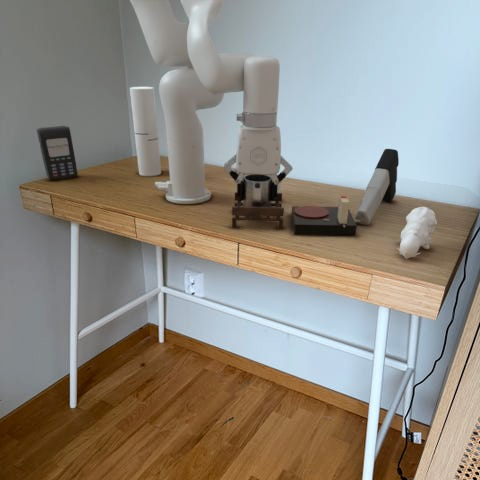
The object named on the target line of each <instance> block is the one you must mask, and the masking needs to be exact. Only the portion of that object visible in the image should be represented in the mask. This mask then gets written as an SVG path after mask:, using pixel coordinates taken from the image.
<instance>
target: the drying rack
mask: <svg viewBox="0 0 480 480" xmlns="http://www.w3.org/2000/svg"><path fill="white" fill-rule="evenodd" d="M234 201H235V202H234V206H231V216H232V217H231V227H232V229H237V223H238V222H239V221H240V222H278V229H279V230H282V229H284V216H285V215H284V214H285V207H284V206H283V204H282V203H283V202H282V201H283V192H280V193H277V197H274V201H275V203H271V207H243V200H242V201H240V196H237V191H234ZM279 201H280V202H279ZM282 206H283V207H282ZM237 221H238V222H237Z"/></svg>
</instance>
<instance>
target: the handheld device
mask: <svg viewBox="0 0 480 480" xmlns="http://www.w3.org/2000/svg"><path fill="white" fill-rule="evenodd" d="M399 164H400V163H399V152H398V150H397V149H393V148H385V149H383V152H382V153H381V156H380V158H379V160H378V162H377V164H376V166H375V168H374V171H373V174H372V176H371V178H370V180H369V182H368V184H367V186H366V188H365V191H364V195H363V197H362V200H361V202H360V205H359V207H358V211H357V213H356V216H355V220H360V221H356V224H360V225H364V226H369V225H370V224H371V222H372V220H373V218H374V217H375V215H376V212H377V210H378V208H379V206H380V204H381V203H388V204H391V203H392V202H393V200H394V197H395V195H396V193H397V181H398V167H399Z"/></svg>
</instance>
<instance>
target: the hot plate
mask: <svg viewBox="0 0 480 480" xmlns="http://www.w3.org/2000/svg"><path fill="white" fill-rule="evenodd" d="M299 206H300V207H297V208H295V210H294V213H295V214H297V215H298V216H301V217H306V218H322V217H326V216H328V215H329V211H328V210H327V209H326V208H323V207H324V206H319V205H299Z"/></svg>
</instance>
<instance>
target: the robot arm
mask: <svg viewBox="0 0 480 480" xmlns="http://www.w3.org/2000/svg"><path fill="white" fill-rule="evenodd" d="M179 1H180V4H181V6H182V8H183V10H184V13H185V14H186V16H187V18H188V22H181V21H179V20H178V19H177V18H176V16H175V14H174V11H173V9H172V5H171V2H170V0H129V2H130V5H131V6H132V8H133V10H134V13H135V15H136V18H137V20H138V23H139V25H140V28H141V31H142V34H143V37H144V39H145V42H146V45H147V47H148V51H149V53H150V55H151V57H152V60H153V62H154V63H155V64H156V65H157V66H159V67H162V68H176V69H171V70H169V71H167V72H166V73H164V75H163V76H161V79H160V81H159V85H158V93H159V94H158V95H159V99H160V101H161V107H162V110H163V116H164V123H165V133H166V144H167V145H166V146H167V157H168V158H167V159H168V172H169V180H165V181H166V182H163V181H155V182H154V189H155V190H157V191H161V192H162V191H164V192H165V191H166V193H165V200H167V201H168V202H170V203H174V204H179V205H195V204H201V203H204V202H207V201H209V200H210V199H211V198H212V192H211V191H210V190H209V189H207V188H206V175H205V174H206V173H205V149H204V148H205V147H204V145H205V144H204V143H205V142H204V129H203V125H202V122H201V120H200V118H199V116H198V114H197V112H196V111H199V110H207V109H212V108H213V109H214V108H216V107H217V106H219V105H220V104H221V103H222V101H223V99H224V96H225V94H229V93H240V92H243V95H242V96H243V98H242V99H243V100H242V103H243V104H242V112H241V113H237V114H236V121H237V122H241V123H242V125H240V126H239V128H238V134H237V142H236V153H235V154H234V155H233V156H232V157H231V158H230V159H228V160H227V161H226V162H225V163H224V164H223V168H224V170H225V171H226V172H227V173H228V174H229V176H230V177H231V178H232V179H233V180H234V182H236V192H237V196H240V201H241V202H243V201H242V200H243V177H244V176H246V175H249V174H255V175H271V177H272V180H273V181H272V190H271V201H272V202H274V197H277V188H278V184H279V183H280V182H281V183H282V181H283V180H284V179H285V178H286V177H287V176H288V175H289V174H290V173H291V172H292V171H293V165H292V164H290V162H289V161H288V160H287V159H286V158H285V157H284V156H283V155H282V139H281V138H282V137H281V129H280V127H279V126H277V125H278V105H279V89H280V71H281V70H280V69H281V64H280V61H279V59H278V58H276V57H275V56H268V55H266V56H265V55H253V54H250V53H244V52H238V53H237V52H236V53H233V52H231V53H229V52H228V53H218V51H217V48H216V46H215V45H214V42H213V39H212V37H211V34H210V30H209V27H210V26H211V25H212V24H213V23H214V22H216V21H217V20H218V19H219V18H220V17H221V15H222V14H223V12H224V9H225V0H179ZM183 67H185V68H183ZM235 164H236V165H235ZM233 165H235V168H236V169H233V167H232V166H233ZM281 166H283V167H284V169H283V170H282V171H281V172H280V170H281Z"/></svg>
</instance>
